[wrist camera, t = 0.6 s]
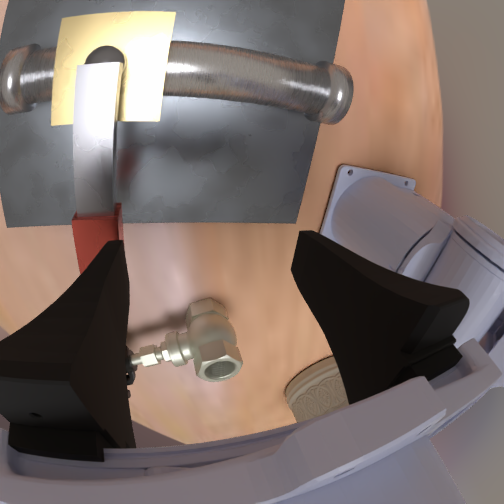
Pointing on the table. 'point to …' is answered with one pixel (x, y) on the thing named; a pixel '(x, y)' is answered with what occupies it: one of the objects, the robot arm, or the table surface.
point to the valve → (195, 345)
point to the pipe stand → (172, 105)
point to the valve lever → (96, 152)
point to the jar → (316, 391)
